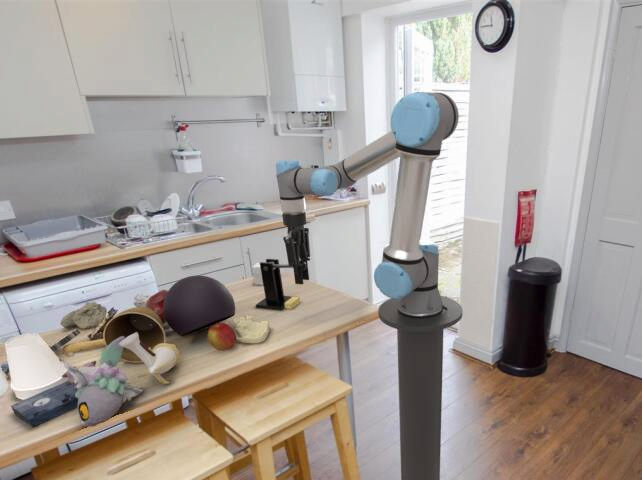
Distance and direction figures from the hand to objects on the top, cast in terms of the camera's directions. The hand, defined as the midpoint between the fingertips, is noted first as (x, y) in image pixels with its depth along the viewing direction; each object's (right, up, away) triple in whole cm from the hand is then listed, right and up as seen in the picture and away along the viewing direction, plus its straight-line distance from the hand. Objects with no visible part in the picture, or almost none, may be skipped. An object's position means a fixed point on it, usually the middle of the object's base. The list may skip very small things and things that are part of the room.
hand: (302, 281), depth 156 cm
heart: (-50, -11, -3) cm, 51 cm away
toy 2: (-41, -28, -46) cm, 67 cm away
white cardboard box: (-21, +3, +28) cm, 35 cm away
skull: (-51, -5, +1) cm, 51 cm away
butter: (-5, -8, +6) cm, 11 cm away
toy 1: (-69, -23, -23) cm, 76 cm away
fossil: (-67, -8, -5) cm, 68 cm away
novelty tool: (-38, -16, -10) cm, 43 cm away
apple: (-19, -21, -19) cm, 34 cm away
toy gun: (-33, -17, -40) cm, 55 cm away
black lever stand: (-11, -7, +7) cm, 15 cm away
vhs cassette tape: (-52, -33, -43) cm, 75 cm away
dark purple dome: (-25, -16, -17) cm, 34 cm away
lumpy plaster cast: (-13, -20, -15) cm, 28 cm away
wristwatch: (-73, -30, -36) cm, 86 cm away
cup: (-58, -20, -46) cm, 77 cm away
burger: (-59, -14, -16) cm, 63 cm away
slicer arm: (-5, +4, 0) cm, 6 cm away
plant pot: (-44, -14, -18) cm, 50 cm away
